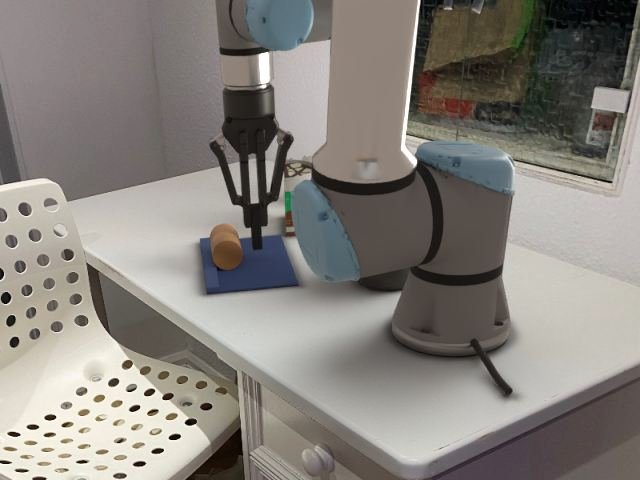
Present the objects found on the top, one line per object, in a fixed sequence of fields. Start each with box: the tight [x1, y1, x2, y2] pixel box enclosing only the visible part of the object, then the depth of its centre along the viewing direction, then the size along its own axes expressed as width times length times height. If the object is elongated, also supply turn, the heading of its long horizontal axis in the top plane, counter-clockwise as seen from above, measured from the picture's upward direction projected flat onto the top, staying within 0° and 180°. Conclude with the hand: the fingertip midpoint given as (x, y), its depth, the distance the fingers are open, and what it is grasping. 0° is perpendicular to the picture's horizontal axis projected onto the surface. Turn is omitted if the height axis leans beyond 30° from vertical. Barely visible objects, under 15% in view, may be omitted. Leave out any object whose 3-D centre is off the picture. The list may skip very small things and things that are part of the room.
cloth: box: [199, 234, 300, 295], centre depth 132 cm, size 22×14×1 cm, turn 6°
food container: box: [283, 158, 312, 237], centre depth 141 cm, size 12×6×10 cm, turn 179°
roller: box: [209, 223, 243, 270], centre depth 131 cm, size 8×5×5 cm, turn 6°
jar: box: [358, 268, 409, 292], centre depth 121 cm, size 10×10×8 cm
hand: (257, 246), depth 132 cm, fingers closed
